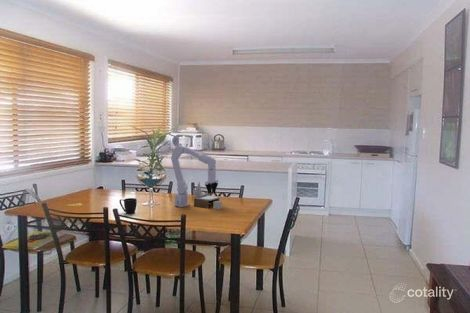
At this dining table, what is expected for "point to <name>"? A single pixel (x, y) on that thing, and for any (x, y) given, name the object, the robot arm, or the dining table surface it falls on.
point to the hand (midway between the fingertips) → (211, 193)
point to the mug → (129, 205)
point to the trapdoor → (206, 197)
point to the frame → (203, 202)
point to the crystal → (198, 191)
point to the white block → (217, 205)
